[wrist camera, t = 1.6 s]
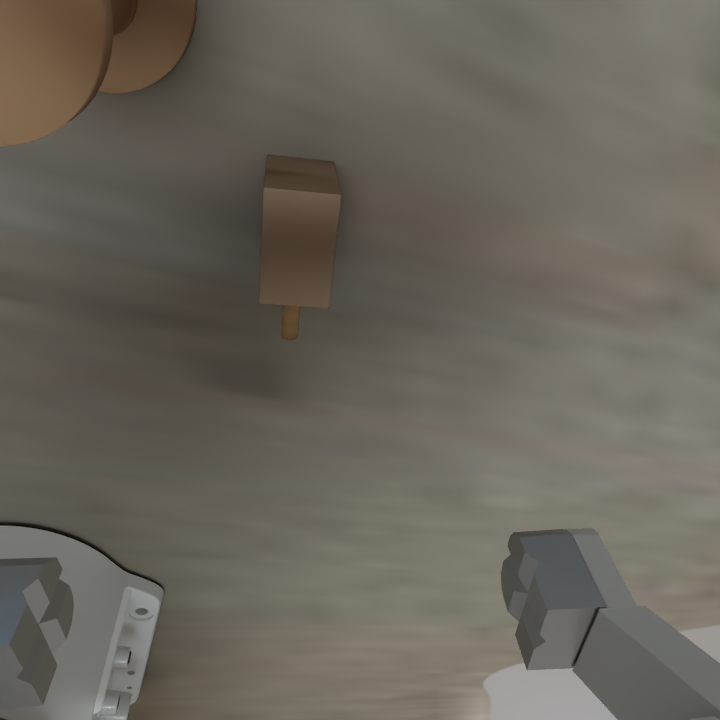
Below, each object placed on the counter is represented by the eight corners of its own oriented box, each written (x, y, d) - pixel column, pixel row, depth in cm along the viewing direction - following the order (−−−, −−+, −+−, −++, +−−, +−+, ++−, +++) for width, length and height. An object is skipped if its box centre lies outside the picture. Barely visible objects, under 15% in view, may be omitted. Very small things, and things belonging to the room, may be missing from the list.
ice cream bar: (317, 313, 31) (322, 365, 27) (260, 309, 31) (256, 362, 26) (333, 161, 27) (341, 195, 23) (267, 154, 26) (263, 187, 22)
